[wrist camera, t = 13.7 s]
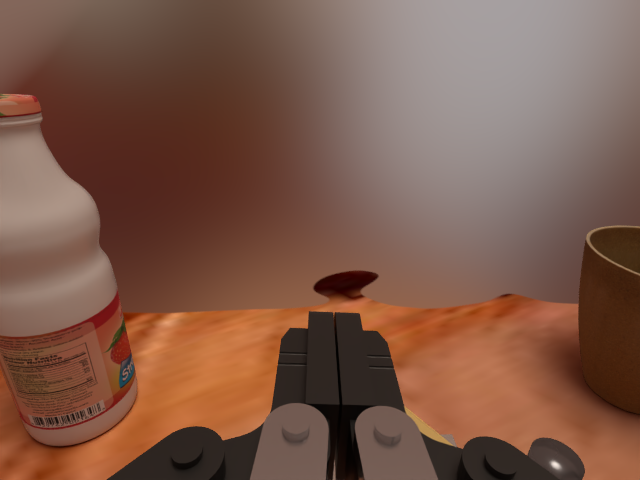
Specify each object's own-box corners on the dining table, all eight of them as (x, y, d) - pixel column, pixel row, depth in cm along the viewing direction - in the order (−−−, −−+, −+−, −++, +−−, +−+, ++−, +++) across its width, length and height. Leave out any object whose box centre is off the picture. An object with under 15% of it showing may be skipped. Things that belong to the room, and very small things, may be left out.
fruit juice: (11, 410, 37) (-121, 93, 25) (112, 357, 43) (46, 89, 32) (50, 472, 31) (-94, 108, 20) (158, 401, 38) (99, 99, 26)
